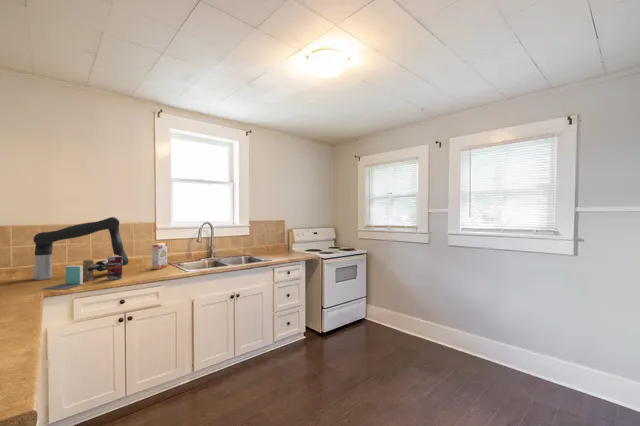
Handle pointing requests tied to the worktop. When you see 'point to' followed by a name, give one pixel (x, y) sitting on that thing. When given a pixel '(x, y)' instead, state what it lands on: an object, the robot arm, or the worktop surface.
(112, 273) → the supplement box
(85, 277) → the walnut block
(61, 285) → the mat
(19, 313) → the worktop surface
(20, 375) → the worktop surface
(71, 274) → the teal book
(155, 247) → the cracker box
